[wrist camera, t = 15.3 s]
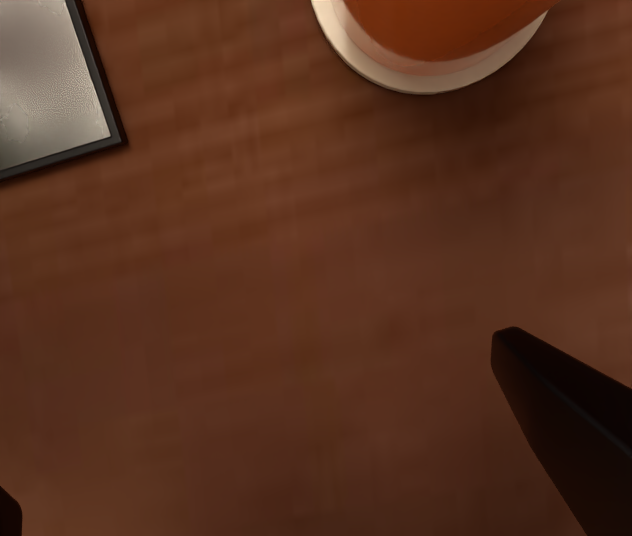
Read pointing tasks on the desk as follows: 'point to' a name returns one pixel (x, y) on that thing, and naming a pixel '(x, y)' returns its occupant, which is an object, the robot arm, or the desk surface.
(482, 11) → the cup
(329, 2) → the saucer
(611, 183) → the desk surface
